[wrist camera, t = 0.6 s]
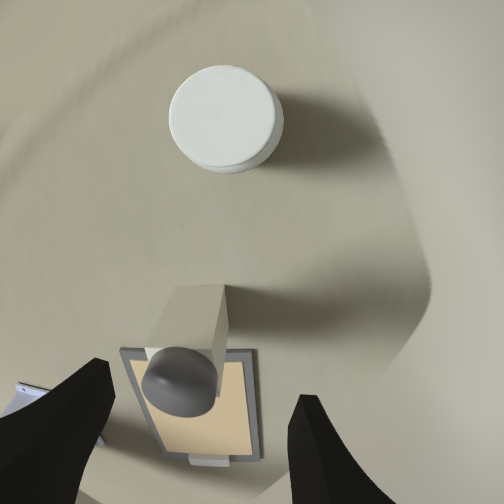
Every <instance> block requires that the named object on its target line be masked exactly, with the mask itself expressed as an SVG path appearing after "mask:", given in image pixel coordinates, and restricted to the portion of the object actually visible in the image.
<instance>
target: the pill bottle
mask: <svg viewBox="0 0 504 504" xmlns="http://www.w3.org/2000/svg"><path fill="white" fill-rule="evenodd" d="M169 126H170V130H171V134H172V137H173V139H174V140H175V142H176V144H177V145H178V147H179V148H180V149H181V150H182V152H184V153H185V154H186V155H187V156H188V157H189V158H190V159H191V160H192V161H193V162H194V163H195V164H197V165H198V166H200V167H202V168H204V169H206V170H208V171H211V172H215V173H220V174H235V173H241V172H245V171H248V170H250V169H252V168H254V167H256V166H258V165H259V164H261V163H262V162H264V161H265V160H266V159H267V158H268V157H269V156H270V155H271V154H272V152H273V151H274V150H275V148H276V146H277V145H278V143H279V141H280V138H281V135H282V132H283V126H284V116H283V110H282V106H281V103H280V101H279V99H278V97H277V95H276V94H275V92H274V91H273V89H272V88H271V87H270V86H269V85H268V84H267V83H266V82H265V81H263V80H262V79H260V78H259V77H257V76H256V75H254V74H253V73H251V72H250V71H248V70H245V69H243V68H240V67H236V66H230V65H219V66H212V67H208V68H205V69H202V70H200V71H198V72H196V73H195V74H193V75H191V76H190V77H189V78H188V79H187V80H185V81H184V82H183V83H182V85H181V86H180V87H179V88H178V90H177V91H176V93H175V95H174V97H173V99H172V102H171V106H170V110H169Z"/></svg>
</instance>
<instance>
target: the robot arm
mask: <svg viewBox="0 0 504 504" xmlns="http://www.w3.org/2000/svg"><path fill="white" fill-rule="evenodd" d="M15 387H16V389H17V390H18V392H17V393H16V395H15V396H14V397H13V399H12V400H11V401H10V403H9V404H8V406H7V407H6V408H5V410H4V411H3V413H2V414H1V415H0V504H75V500H76V496H77V493H78V489H79V485H80V482H81V478H82V475H83V472H84V469H85V466H86V463H87V461H88V459H89V456H90V454H91V452H92V450H93V448H94V446H95V445H99V446H104V444H105V442H104V441H103V439H102V438H101V436H100V434H101V432H102V430H103V428H104V426H105V424H106V422H107V419H108V417H109V414H110V412H111V409H112V406H113V403H114V400H115V397H116V396H115V391H114V387H113V382H112V377H111V372H110V367H109V362H108V361H105V360H101V359H98V358H93V359H92V360H91V361H89V362H88V363H87V364H85V365H84V366H83V367H82V368H80V369H79V370H78V371H76V372H75V373H74V374H72V375H71V376H70V377H69V378H67V379H66V380H65V381H63V382H62V383H60V384H59V385H58V386H56V387H55V388H54V389H52V390H51V391H47V390H43V389H39V388H35V387H31V386H27V385H24V384H20V383H16V385H15ZM287 450H288V460H289V470H290V479H291V489H292V500H293V501H292V503H293V504H396V503H395V502H393V501H392V500H391V499H390V498H389V497H388V496H387V495H386V494H385V493H384V492H382V491H381V490H380V489H379V488H378V487H377V486H376V485H375V483H374V482H373V481H372V480H371V479H370V478H369V477H368V476H367V475H366V473H365V472H364V471H363V470H362V469H361V467H360V466H359V465H358V463H357V462H356V461H355V460H354V458H353V457H352V455H351V454H350V452H349V451H348V449H347V448H346V446H345V445H344V443H343V442H342V440H341V438H340V437H339V435H338V434H337V432H336V430H335V429H334V427H333V425H332V423H331V421H330V420H329V418H328V416H327V414H326V412H325V410H324V408H323V406H322V404H321V402H320V400H319V398H318V397H317V395H303V394H300V396H299V399H298V402H297V404H296V407H295V410H294V412H293V415H292V417H291V420H290V422H289V425H288V445H287Z"/></svg>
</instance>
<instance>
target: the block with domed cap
mask: <svg viewBox="0 0 504 504" xmlns="http://www.w3.org/2000/svg"><path fill="white" fill-rule="evenodd" d="M228 332H229V322H228V313H227V304H226V295H225V285H204V286H175V288H174V290H173V292H172V294H171V296H170V298H169V300H168V301H167V303H166V305H165V307H164V309H163V311H162V313H161V315H160V317H159V319H158V321H157V323H156V325H155V327H154V329H153V331H152V333H151V335H150V337H149V339H148V341H147V343H146V345H145V347H144V348H145V352H146V355H147V358H148V362H149V364H148V367H147V369H146V371H145V374H144V376H143V378H142V382H141V388H142V392H143V394H144V396H145V397H146V399H147V400H148V401H149V402H150V403H151V404H152V405H153V406H154V407H156V408H157V409H159V410H160V411H162V412H164V413H167V414H169V415H172V416H176V417H183V418H193V417H198V416H202V415H204V414H206V413H207V412H209V411H210V410H211V409H212V408H213V406H214V403H215V398H216V397H220V393H221V385H222V377H223V370H224V362H225V354H226V347H227V339H228Z"/></svg>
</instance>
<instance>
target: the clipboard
mask: <svg viewBox="0 0 504 504" xmlns="http://www.w3.org/2000/svg"><path fill="white" fill-rule="evenodd" d="M119 352H120V355H121V357H122V360H123V363H124V366H125V368H126V371H127V374H128V376H129V379H130V382H131V384H132V387H133V389H134V392H135V394H136V397H137V399H138V401H139V404H140V406H141V408H142V411H143V413H144V415H145V418H146V420H147V422H148V424H149V426H150V429H151V431H152V433H153V435H154V437H155V439H156V441H157V443H158V445H159V447H160V449H161V451H162V453H163V455H164V457H165V458H174V459H185V460H189V462H190V464H191V465H197V466H216V467H230V462H257V461H260V449H259V437H258V424H257V412H256V400H255V387H254V374H253V361H252V349H233V350H226V354H225V362H224V370H223V377H222V385H221V393H220V397H216V398H215V403H214V406H213V408H212V409H211V410H210V411H209V412H207V413H206V414H204V415H202V416H198V417H193V418H183V417H176V416H172V415H169V414H167V413H164V412H162V411H160V410H159V409H157V408H156V407H154V406H153V405H152V404H151V403H150V402H149V401H148V400H147V399H146V397H145V396H144V394H143V392H142V388H141V382H142V378H143V376H144V374H145V371H146V369H147V367H148V364H149V362H148V358H147V355H146V352H145V349H138V348H120V350H119Z"/></svg>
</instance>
